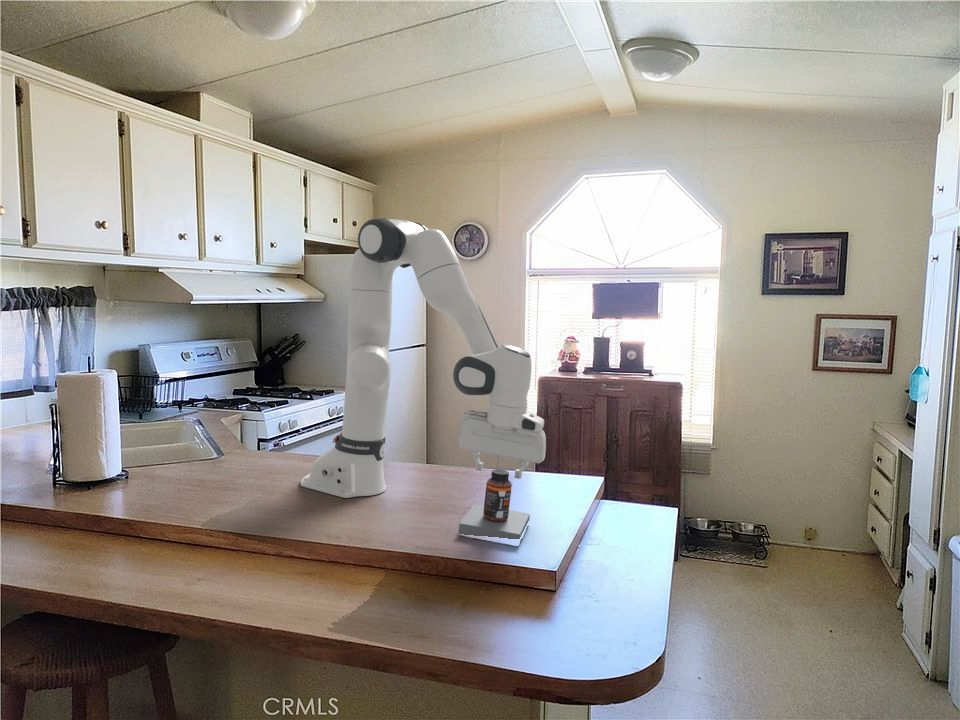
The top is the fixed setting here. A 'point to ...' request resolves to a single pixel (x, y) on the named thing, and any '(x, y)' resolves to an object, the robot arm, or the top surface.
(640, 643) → the top surface
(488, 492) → the supplement bottle
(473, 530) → the plinth
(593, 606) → the top surface
